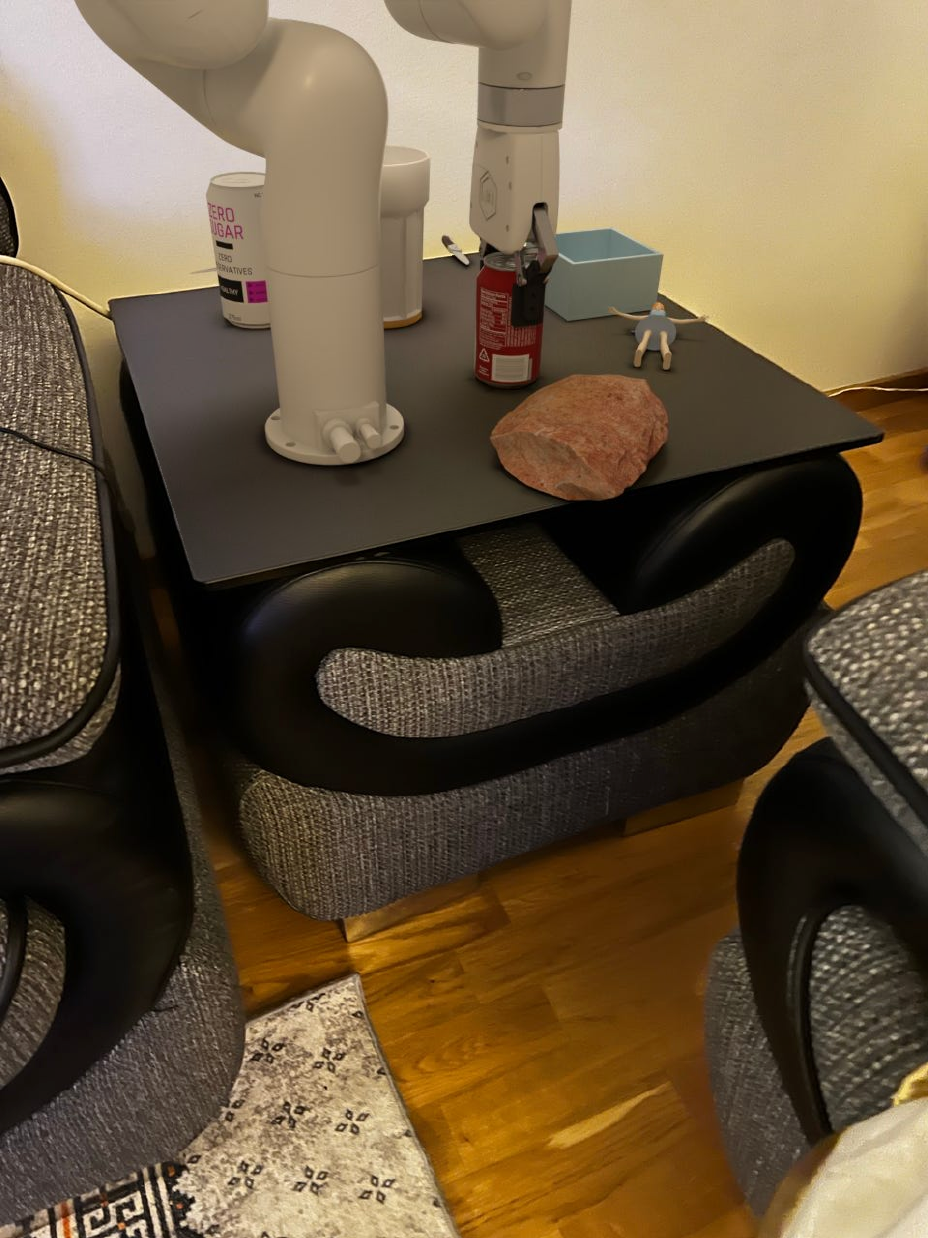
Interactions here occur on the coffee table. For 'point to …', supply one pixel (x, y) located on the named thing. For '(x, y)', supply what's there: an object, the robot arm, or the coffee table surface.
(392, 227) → the cup
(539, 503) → the coffee table surface
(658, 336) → the fairy figurine
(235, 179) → the supplement can
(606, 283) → the case
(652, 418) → the stone
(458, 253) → the pocket knife
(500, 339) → the soda can
